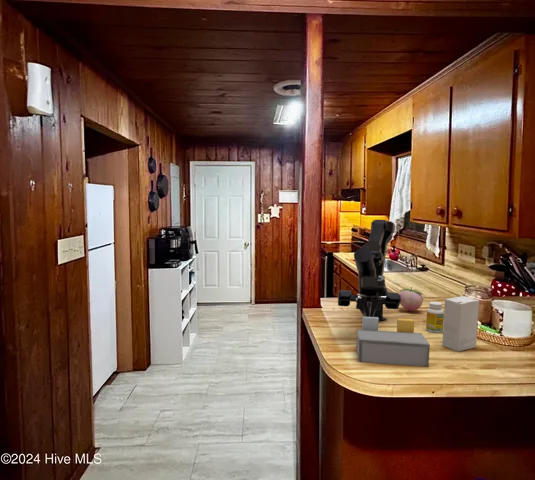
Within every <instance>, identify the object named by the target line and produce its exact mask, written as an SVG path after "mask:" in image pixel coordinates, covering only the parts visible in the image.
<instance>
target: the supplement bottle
mask: <svg viewBox="0 0 535 480" xmlns="http://www.w3.org/2000/svg"><path fill="white" fill-rule="evenodd" d="M428 303H429V304H428V306H429V307H428V308H426V321H425V325H426V326H425V328H426V329H425V330H426V331H428V332H430V333H434V334H435V333H437V334H439V333H443V323H444V309H443V303H442V302H440V301H430V302H428Z"/></svg>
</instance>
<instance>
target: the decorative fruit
mask: <svg viewBox="0 0 535 480" xmlns="http://www.w3.org/2000/svg"><path fill="white" fill-rule="evenodd" d="M399 292H400V293H399ZM398 293H399V294H400V296H401V301H400V306H401V307H402V308H404V310H407V311H408V312H414V311H416V310H418V309H419V308H421V307H422V305H423V301H424V300H423V299H424V298H423V295H424V294H423V293H422V291H420V290H418V289H412V286H411V287H410V289H409V288H401V290H399V291H398Z"/></svg>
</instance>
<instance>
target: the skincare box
mask: <svg viewBox="0 0 535 480" xmlns="http://www.w3.org/2000/svg"><path fill="white" fill-rule="evenodd" d="M479 307H480V300H479V299H475V298H471V297H468V296H465V295H461V296H456V297H450V298H445V299H444V309H443V311H444V321H443V331H442V342H441V345H442V346H444V347H446V348H449V350H453V351H454V352H455V351H456V352H461V351H465V350H469V349H470V350H471V349H475V348H476V347H477V340H478V339H477V337H478V334H477V333H478V325H479V324H478V323H479V321H478V320H479V309H480V308H479Z"/></svg>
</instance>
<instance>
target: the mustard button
mask: <svg viewBox="0 0 535 480" xmlns="http://www.w3.org/2000/svg"><path fill="white" fill-rule="evenodd" d="M396 332H407V333H415V320H414V318H413V319H412V318H409V319H408V318H396Z"/></svg>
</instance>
